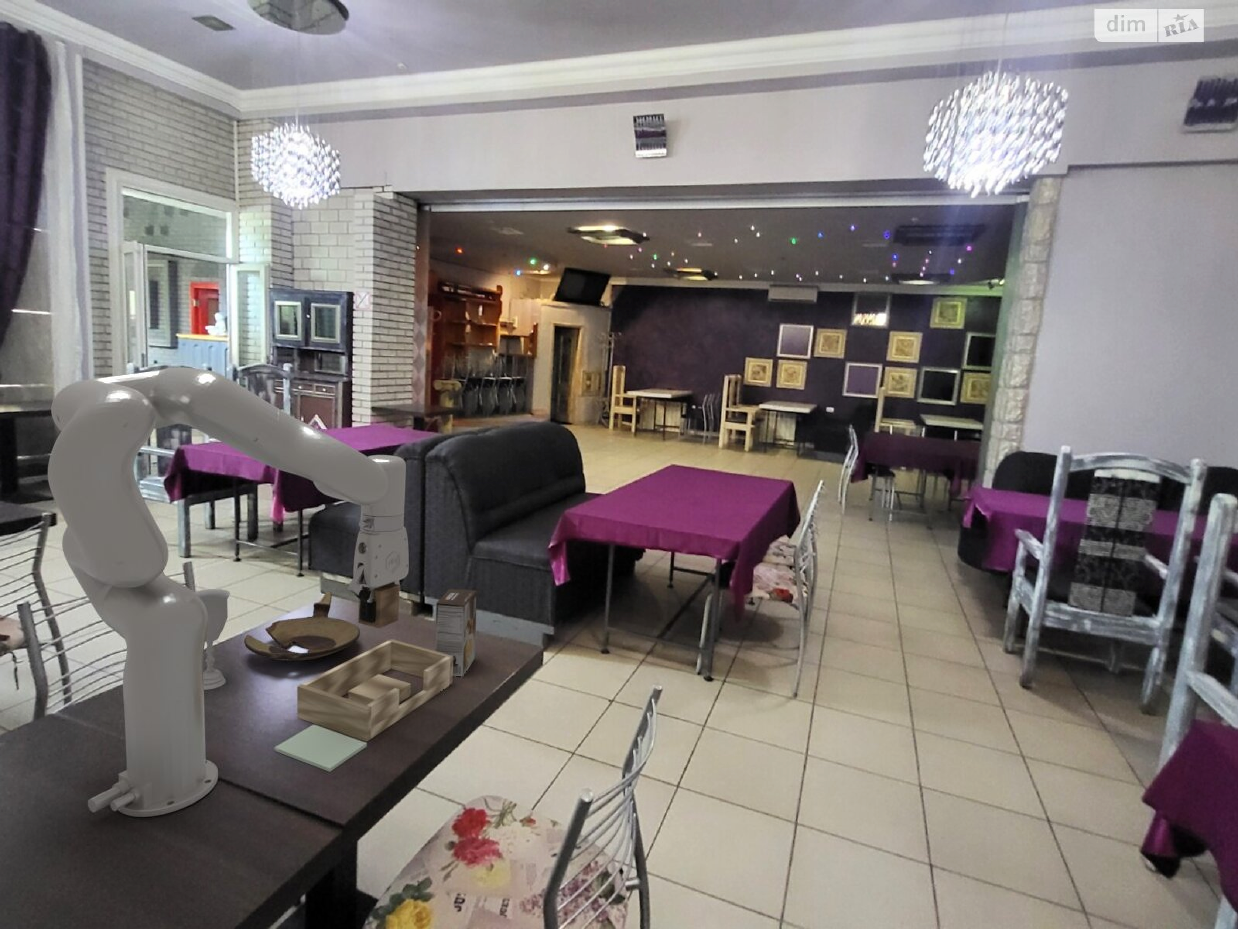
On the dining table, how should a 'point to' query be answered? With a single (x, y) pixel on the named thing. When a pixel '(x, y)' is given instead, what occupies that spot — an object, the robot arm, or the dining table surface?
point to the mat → (321, 747)
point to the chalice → (213, 631)
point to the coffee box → (457, 628)
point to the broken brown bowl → (307, 635)
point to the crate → (373, 689)
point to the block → (384, 605)
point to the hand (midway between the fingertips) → (378, 615)
